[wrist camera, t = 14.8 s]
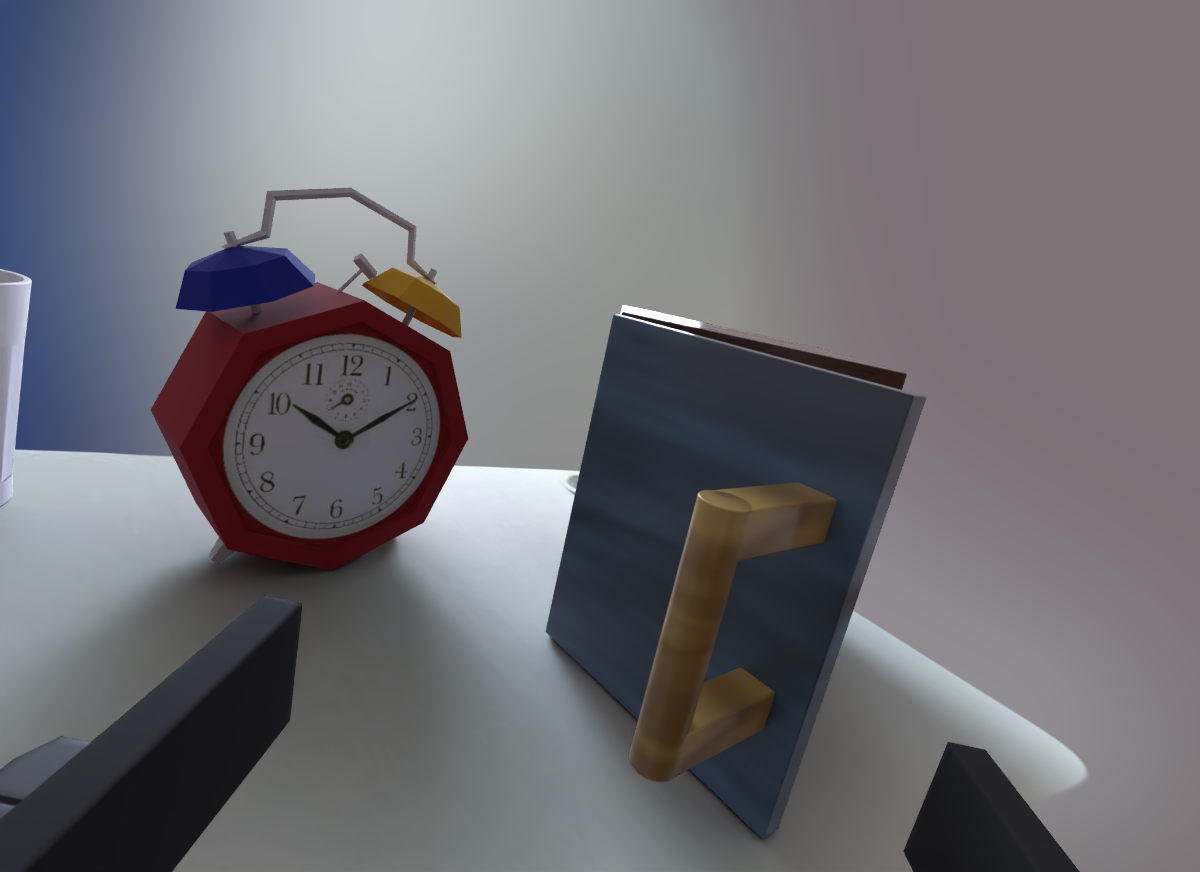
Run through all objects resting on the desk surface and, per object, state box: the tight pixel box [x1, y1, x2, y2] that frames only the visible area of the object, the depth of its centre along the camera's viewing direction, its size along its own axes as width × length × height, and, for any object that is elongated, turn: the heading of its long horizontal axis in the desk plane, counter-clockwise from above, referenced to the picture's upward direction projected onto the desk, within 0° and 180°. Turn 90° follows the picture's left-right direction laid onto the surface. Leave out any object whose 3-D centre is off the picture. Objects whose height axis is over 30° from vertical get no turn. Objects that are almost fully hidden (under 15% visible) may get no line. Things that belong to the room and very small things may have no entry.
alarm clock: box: [151, 188, 468, 571], centre depth 34 cm, size 15×9×20 cm, turn 135°
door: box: [546, 314, 926, 839], centre depth 24 cm, size 7×14×17 cm, turn 40°
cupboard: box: [621, 305, 907, 390], centre depth 37 cm, size 11×14×17 cm
